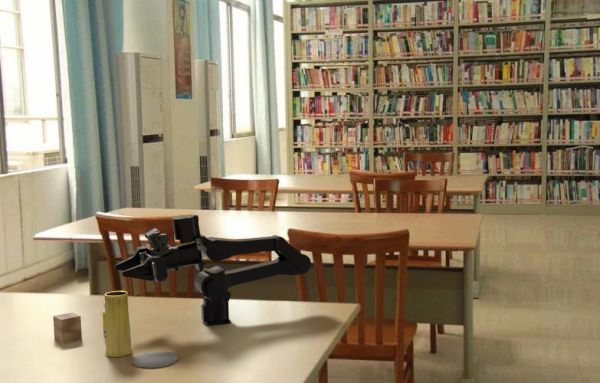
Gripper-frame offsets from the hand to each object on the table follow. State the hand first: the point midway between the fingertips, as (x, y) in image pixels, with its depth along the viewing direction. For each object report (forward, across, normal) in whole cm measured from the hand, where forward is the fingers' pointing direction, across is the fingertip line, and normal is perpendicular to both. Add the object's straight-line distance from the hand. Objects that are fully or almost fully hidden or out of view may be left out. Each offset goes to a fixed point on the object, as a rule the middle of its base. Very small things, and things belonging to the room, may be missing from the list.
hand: (118, 270), depth 187 cm
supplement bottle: (+4, -2, +16) cm, 17 cm away
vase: (+6, +14, +16) cm, 22 cm away
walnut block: (+14, -3, +15) cm, 21 cm away
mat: (0, +24, +17) cm, 29 cm away
